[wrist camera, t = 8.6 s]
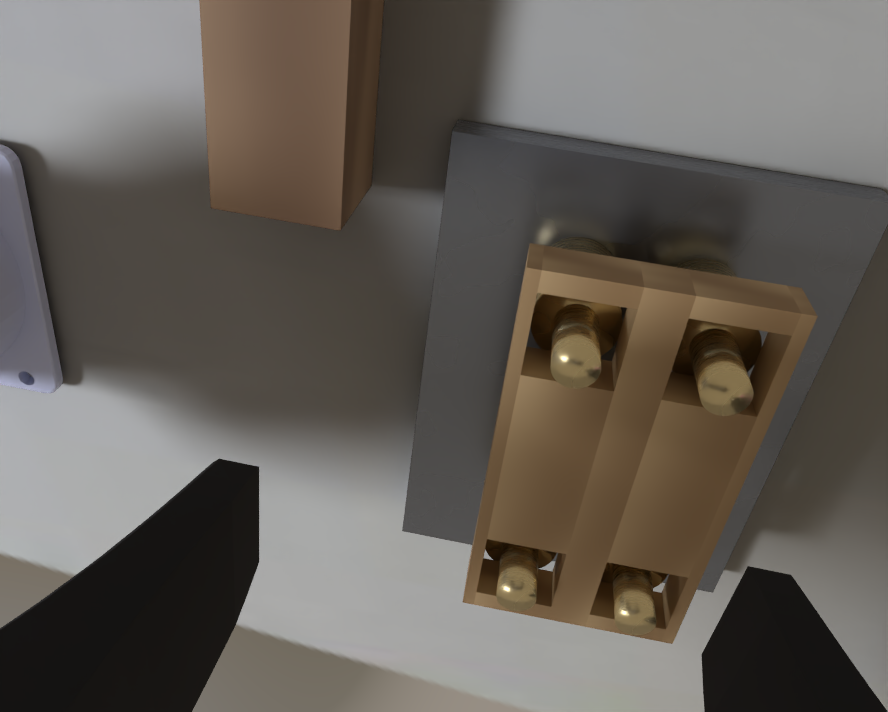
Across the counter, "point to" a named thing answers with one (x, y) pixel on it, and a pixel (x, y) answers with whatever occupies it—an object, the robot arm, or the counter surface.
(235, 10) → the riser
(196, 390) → the counter surface
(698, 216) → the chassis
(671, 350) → the wooden frame
